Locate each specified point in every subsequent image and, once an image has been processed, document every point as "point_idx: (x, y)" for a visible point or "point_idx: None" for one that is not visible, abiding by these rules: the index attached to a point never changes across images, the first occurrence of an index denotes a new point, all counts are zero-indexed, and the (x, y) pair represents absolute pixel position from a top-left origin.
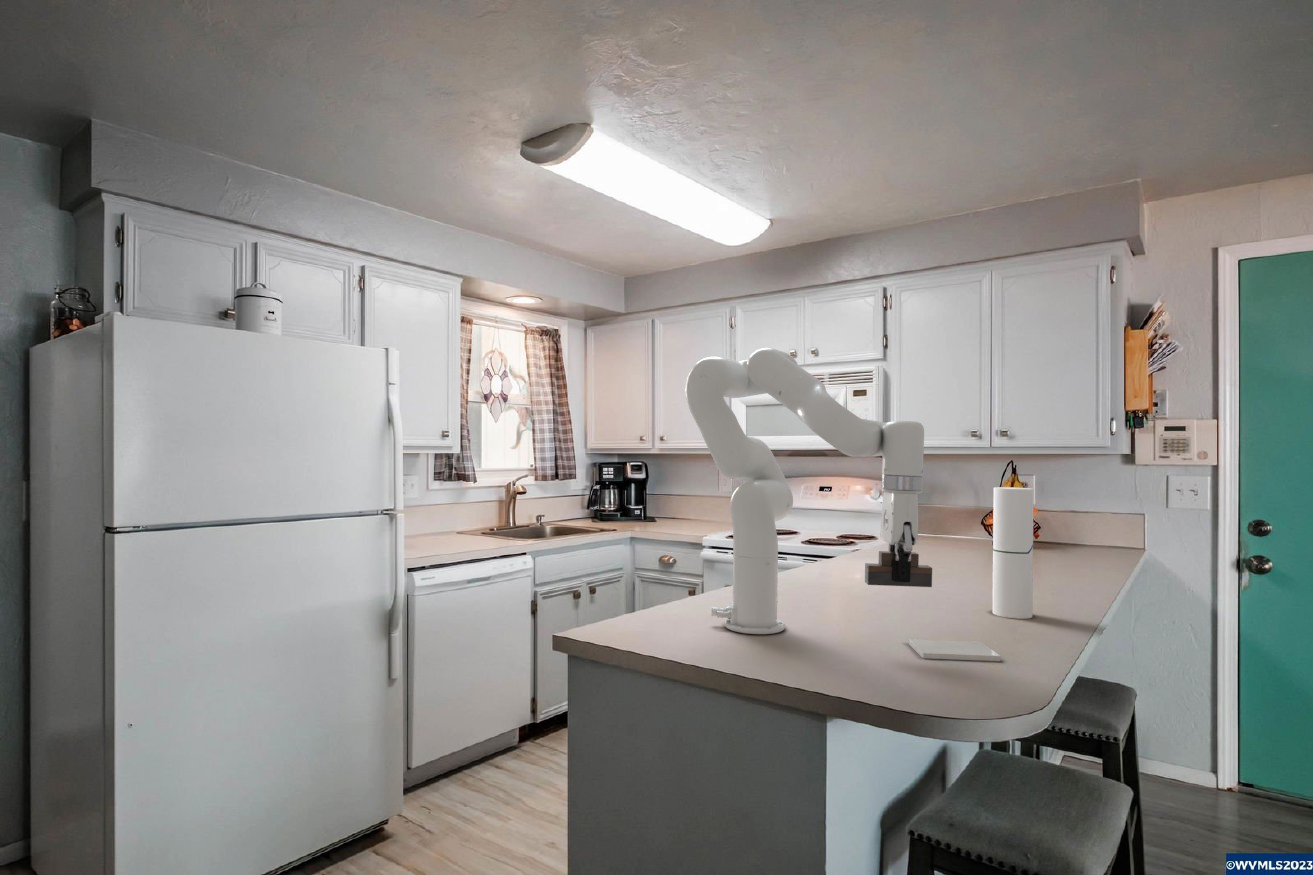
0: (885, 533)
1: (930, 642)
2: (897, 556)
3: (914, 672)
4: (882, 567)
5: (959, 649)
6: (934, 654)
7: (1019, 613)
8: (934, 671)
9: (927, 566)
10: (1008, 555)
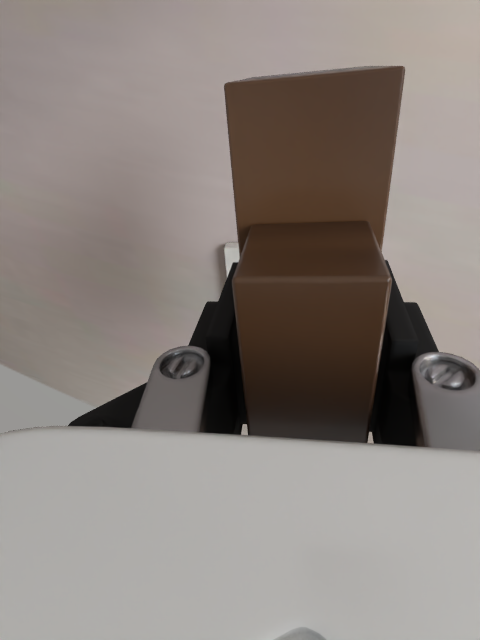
0: (284, 574)
1: None
2: (149, 380)
3: (89, 189)
4: (237, 226)
5: None
6: (227, 275)
7: None
8: (118, 241)
9: None
10: None
